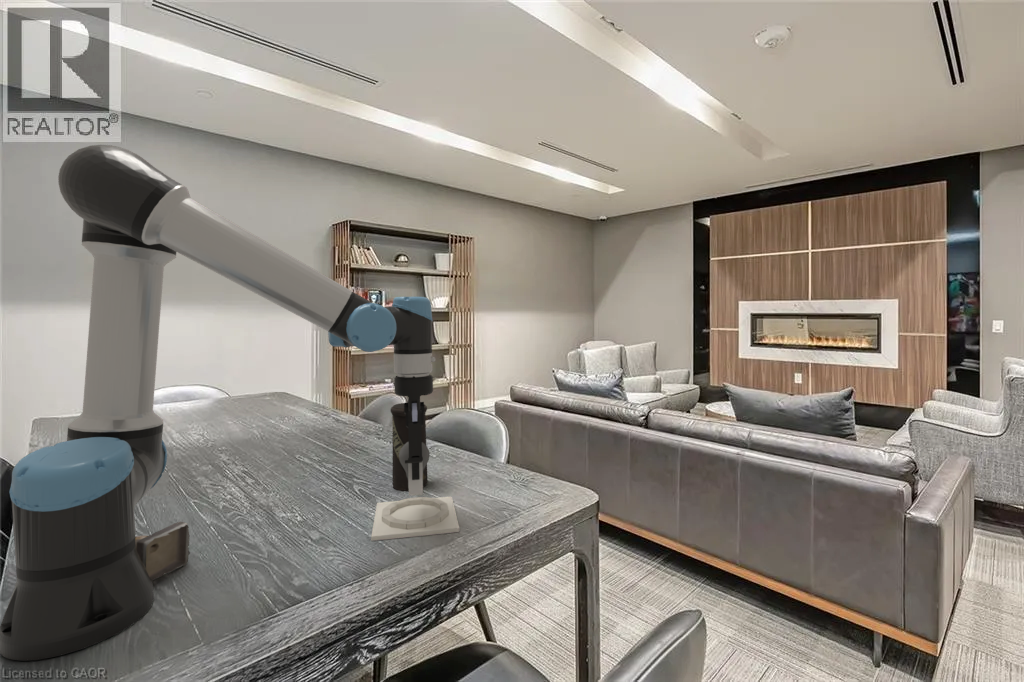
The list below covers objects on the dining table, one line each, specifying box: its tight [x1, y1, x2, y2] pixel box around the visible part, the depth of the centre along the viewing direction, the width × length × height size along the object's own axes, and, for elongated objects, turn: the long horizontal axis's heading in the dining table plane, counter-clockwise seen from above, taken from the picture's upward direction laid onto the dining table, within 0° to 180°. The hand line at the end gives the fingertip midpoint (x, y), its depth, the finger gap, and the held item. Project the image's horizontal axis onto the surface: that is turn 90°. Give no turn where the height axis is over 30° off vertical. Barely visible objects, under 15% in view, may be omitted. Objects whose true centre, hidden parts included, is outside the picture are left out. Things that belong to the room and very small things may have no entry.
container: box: [390, 402, 428, 491], centre depth 113 cm, size 9×9×20 cm
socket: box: [370, 496, 460, 542], centre depth 94 cm, size 16×16×2 cm
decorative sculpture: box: [135, 521, 191, 581], centre depth 78 cm, size 16×10×7 cm, turn 53°
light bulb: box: [399, 442, 431, 489], centre depth 94 cm, size 6×6×10 cm
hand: (415, 488), depth 94 cm, fingers closed on light bulb, 6 cm apart
